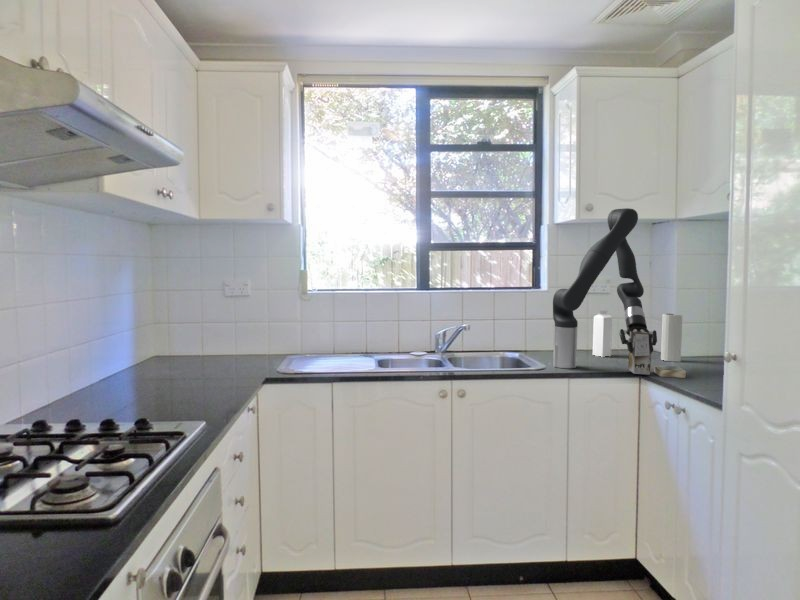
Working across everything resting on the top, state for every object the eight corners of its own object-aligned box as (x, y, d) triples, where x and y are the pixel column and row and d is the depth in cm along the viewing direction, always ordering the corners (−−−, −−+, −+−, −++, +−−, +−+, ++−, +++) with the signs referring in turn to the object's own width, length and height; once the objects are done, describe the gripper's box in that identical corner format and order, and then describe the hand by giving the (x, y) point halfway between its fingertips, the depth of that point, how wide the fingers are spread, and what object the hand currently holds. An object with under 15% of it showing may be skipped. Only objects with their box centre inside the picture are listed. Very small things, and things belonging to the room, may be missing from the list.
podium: (660, 376, 199) (660, 369, 199) (654, 371, 207) (654, 365, 207) (685, 377, 197) (685, 370, 197) (678, 372, 206) (678, 366, 205)
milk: (592, 355, 245) (593, 309, 244) (601, 354, 248) (602, 309, 247) (602, 357, 240) (603, 310, 239) (611, 356, 243) (612, 310, 242)
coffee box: (650, 375, 200) (652, 334, 198) (633, 374, 201) (635, 333, 200) (644, 370, 208) (646, 331, 207) (627, 369, 210) (629, 330, 209)
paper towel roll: (657, 359, 235) (659, 313, 234) (669, 359, 237) (670, 313, 235) (668, 362, 228) (670, 315, 227) (680, 362, 229) (682, 314, 228)
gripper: (618, 313, 212) (623, 345, 201) (655, 314, 209) (662, 347, 198) (615, 324, 217) (620, 356, 207) (651, 325, 214) (658, 358, 204)
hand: (641, 352), depth 202 cm, fingers closed on coffee box, 6 cm apart
